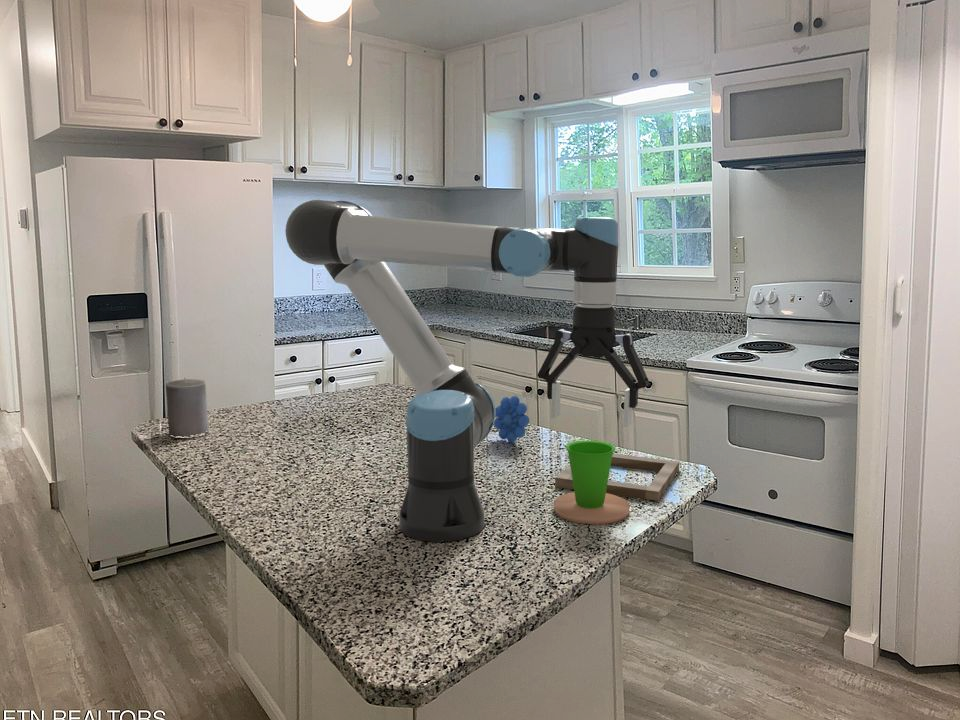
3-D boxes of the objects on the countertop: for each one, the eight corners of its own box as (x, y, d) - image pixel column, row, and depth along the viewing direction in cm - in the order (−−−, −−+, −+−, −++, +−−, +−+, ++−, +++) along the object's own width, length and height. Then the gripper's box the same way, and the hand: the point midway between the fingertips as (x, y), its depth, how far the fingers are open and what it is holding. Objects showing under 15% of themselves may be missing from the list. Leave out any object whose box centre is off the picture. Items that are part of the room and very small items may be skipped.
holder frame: (658, 501, 147) (658, 491, 147) (555, 486, 156) (555, 477, 155) (679, 470, 166) (679, 461, 165) (585, 458, 175) (586, 450, 174)
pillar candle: (162, 435, 198) (157, 378, 195) (197, 427, 205) (193, 372, 202) (181, 442, 192) (176, 383, 189) (216, 433, 199) (212, 377, 196)
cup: (613, 514, 137) (614, 455, 136) (562, 510, 139) (563, 452, 138) (615, 497, 146) (616, 441, 144) (568, 494, 148) (568, 439, 146)
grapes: (540, 443, 187) (540, 396, 185) (521, 449, 182) (521, 400, 180) (507, 434, 195) (507, 388, 193) (488, 439, 191) (487, 392, 189)
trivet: (617, 529, 134) (618, 522, 134) (542, 517, 140) (542, 510, 139) (637, 503, 146) (637, 497, 146) (567, 493, 152) (567, 487, 152)
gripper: (669, 306, 135) (663, 423, 138) (536, 300, 145) (534, 409, 149) (660, 310, 128) (654, 433, 132) (521, 303, 138) (520, 417, 142)
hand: (590, 420), depth 140 cm, fingers open, 13 cm apart
